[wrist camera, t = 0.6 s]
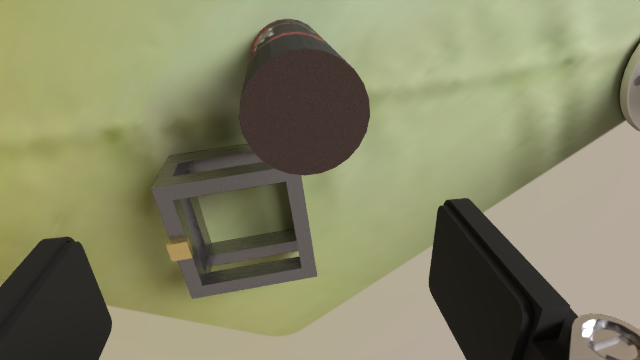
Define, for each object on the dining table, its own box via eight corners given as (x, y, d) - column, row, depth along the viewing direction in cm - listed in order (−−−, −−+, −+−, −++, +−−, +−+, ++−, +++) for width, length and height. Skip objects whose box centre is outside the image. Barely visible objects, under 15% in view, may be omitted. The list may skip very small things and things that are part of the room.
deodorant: (302, 108, 33) (326, 193, 19) (238, 72, 31) (216, 140, 17) (339, 45, 31) (395, 92, 17) (273, 2, 29) (279, 19, 15)
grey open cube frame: (294, 136, 34) (300, 168, 28) (310, 236, 39) (318, 280, 33) (166, 156, 33) (145, 193, 27) (200, 255, 38) (188, 304, 32)
